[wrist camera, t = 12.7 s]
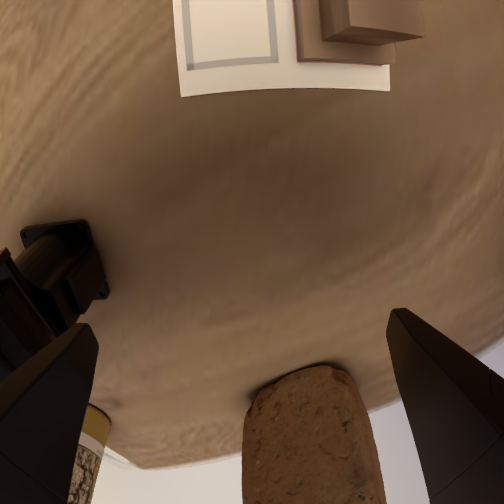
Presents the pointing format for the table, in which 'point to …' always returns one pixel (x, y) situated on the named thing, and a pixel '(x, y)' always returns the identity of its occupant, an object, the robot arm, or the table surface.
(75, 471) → the bark patterned cylinder
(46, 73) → the table surface
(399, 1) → the stamp
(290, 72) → the sheet
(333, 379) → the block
